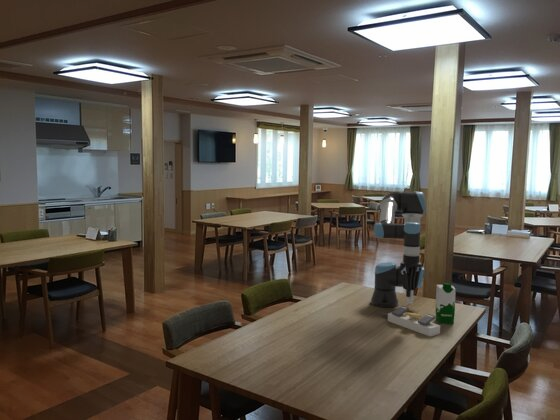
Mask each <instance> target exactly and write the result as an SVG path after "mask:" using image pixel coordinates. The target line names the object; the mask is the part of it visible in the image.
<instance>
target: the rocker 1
mask: <svg viewBox="0 0 560 420" xmlns="http://www.w3.org/2000/svg"><path fill="white" fill-rule="evenodd" d="M409 310H410V308H409V307H408V306H405V305H401V306H399V307H398V308H396V309H395V310H393V311H391V312H392V314H393V315H396V316H400V315H401V314H403V313H405V312H407V311H409Z"/></svg>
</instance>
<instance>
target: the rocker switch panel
mask: <svg viewBox="0 0 560 420" xmlns="http://www.w3.org/2000/svg"><path fill="white" fill-rule="evenodd" d="M392 312H393V311H391V312H388V313H386V312H383V311H380V312H379V313H380V315H383V316H386V317H387V322H390V323H393V324H395V325H397V326H400V327H402V328H406V329H408V330H410V331H411V330H412V331H414V332H417V333H419V334H422V335H424V336H427V337H431V338H432V337H434V336H437V335H440V334H441V325H440V324H439V323H438V324H437V323H434V322H432V321H431V322H430V323H428V324H427V325H422V324H419V323H418V320H420V319H421V318H417V317H410V316H407V315H404V314H405V313H403V314H401V315H400V316H396V315H393V314H392Z"/></svg>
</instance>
